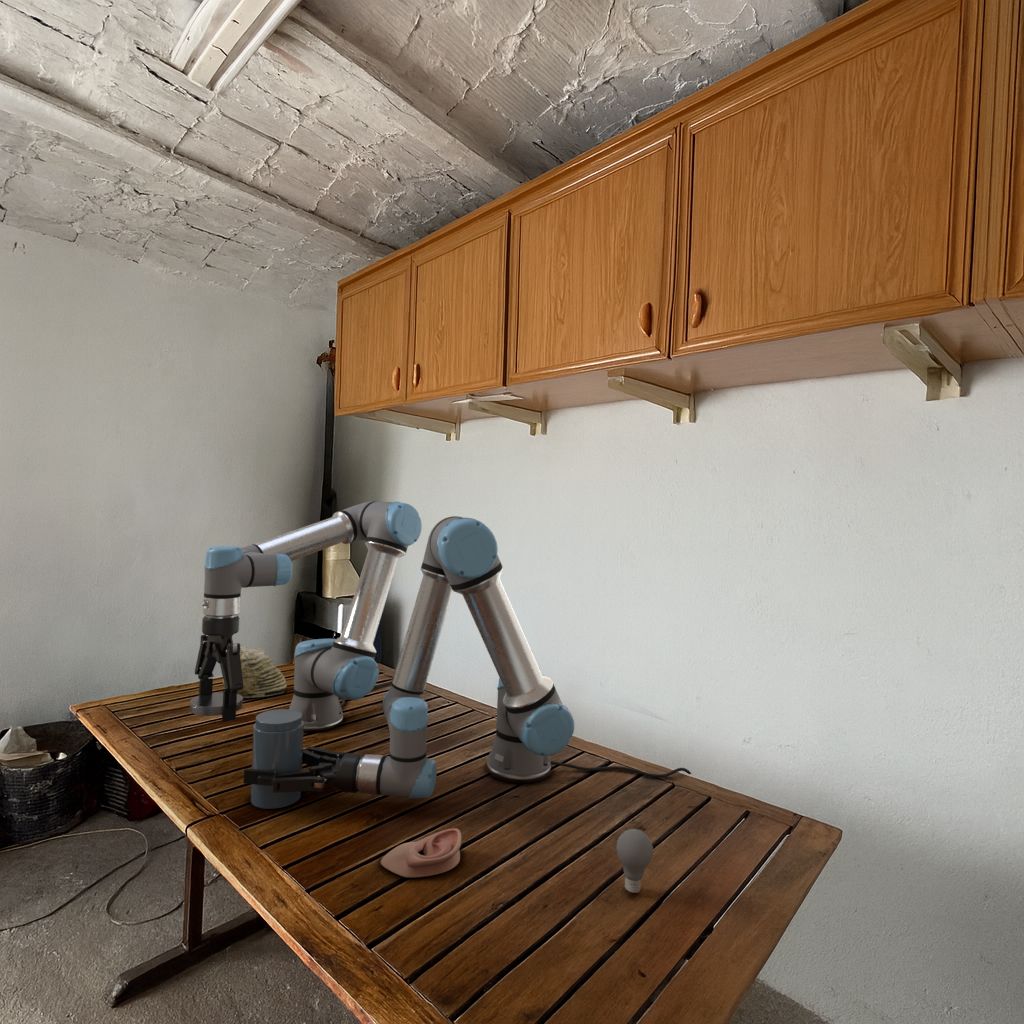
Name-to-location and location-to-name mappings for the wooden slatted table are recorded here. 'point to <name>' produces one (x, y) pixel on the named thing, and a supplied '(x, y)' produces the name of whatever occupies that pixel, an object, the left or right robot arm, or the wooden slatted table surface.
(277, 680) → the fossil
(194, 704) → the lid
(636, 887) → the light bulb
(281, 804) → the jar
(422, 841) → the anatomical model
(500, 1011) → the wooden slatted table surface
